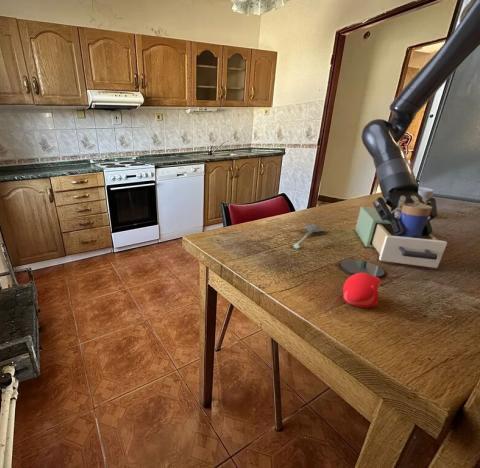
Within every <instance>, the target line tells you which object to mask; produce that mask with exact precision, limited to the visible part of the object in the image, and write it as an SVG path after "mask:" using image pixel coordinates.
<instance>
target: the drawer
mask: <svg viewBox="0 0 480 468" xmlns="http://www.w3.org/2000/svg"><path fill="white" fill-rule="evenodd" d="M394 234H395V233H394V231H393V228H392V224H384V223H376V224H375V228H374V231H373V235H372V238H371V243H372V244H373V246H374V247H375V248H374V249H375V250H376V252H377V253H378V254H379V257H378V259H379V261H380V262H388V263H395V264H403V265H411V266H419V267H427V268H432V269H433V268H435V269H438V267H439V265H440V263H441V260H442V257H443V255H444V251H445V250H446V247H447V245H448V242H447V241H446V240H440V239H438V238H437V237H435V235H433V234H432V233H431V234H429V235H427V236H422V237H421V239H420V238H410V237H400V236H394Z"/></svg>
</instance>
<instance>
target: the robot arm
mask: <svg viewBox="0 0 480 468" xmlns="http://www.w3.org/2000/svg"><path fill="white" fill-rule="evenodd" d="M479 46H480V0H470V1H468V3H467V4H466V5H465V6H464V7H463V10H462V11H461V13H460V17H459V24H458V25H457V26H456V27H455V29H454V31H453V32H452V33H451V34H450V36H449V37H448V38H447V39H446V40H445V42H444V43H443V44H442V45H441V47H440V48H439V49H438V50H437V51H436V52H435V54H434V55H433V56H432V57H431V58H430V59H429V60H428V61H427V62H426V63H425V64H424V66H422V67H421V68H420V70H419V71H417V73H415V75H414V76H413V77H412V78H411V79H410V80H409V81H408V82H407V84H406V85H405V86H404V88H403V89H402V90H401V91H400V92H399V94H398V95H397V96H396V97H395V98H394V100H392V102H391V104H390V105H389V111H390V112H391V117H390V119H389V121H388V120H385V119H382V118H376V119H373V120H371V121H369V122H368V123H367V124H365V126H363V129H362V131H361V141H362V143H363V145H364V147H365V149H366V150H367V153H368V154H369V155H370V156H371V158H372V160H373V164H374V168H375V172H376V179H377V182H378V185H379V190H380V193H381V195H382V196H378V198H376V199H375V200H374V201H372V205H373V207H375V209H376V211H377V212H378V214H379V216H380V218H381V220H383V221H385V220H387V221H389V222H391V224H392V228H393V231H394V233H396V235H402V234H404V233H405V229H404V226H403V222H402V219H399V218H400V216H401V209H402V206H403V204H404V203H419V204H425V205H429V206H431V207H432V210H431V213H430V215H429V217H428V220H427V222H426V225H425V228H424V231H423V234H422V236H427V235H429V234H431V235H432V232H433V227H432V224H431V222H430V221H432V220H434V219H435V218H437V217H438V209H437V199H436V198H435V197H434V196H432V197H431V198H429V199H426V198H422V197H421V196H420V195H419V193H418V189H419V187H420V186H419V184H418V181H417V179H416V176H415V173H414V171H413V167H412V166H411V163H410V162H409V161H408V158H407V155H406V153H405V152H406V151H405V150H404V148H403V147H402V145H400V144H399V143H400V141H401V140H402V139H403V138H404V136H405V135H406V133H407V131H408V129H409V128H410V126H411V124H412V123H413V121H414V120H415V117H416V115H418V113H419V112H420V111H421V110H422V109H423V107H424V106H425V105H426V104H428V103H429V101H430V100H431V99H432V98H433V97H434V96H435V94H436V93H437V92H438V91H439V90H440V89H441V87H442V86H443V85H444V84H445V83H446V82H447V80H449V78H450V77H451V76H452V75H453V74H454V72H456V70H457V69H458V68H459V67H460V66H461V65H462V64H463V63H464V62H465V60H467V58H468V57H470V55H471V54H472V53H473V52H475V50H476V49H477V48H478V47H479ZM389 208H390V210H389Z"/></svg>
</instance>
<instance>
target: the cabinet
mask: <svg viewBox="0 0 480 468" xmlns="http://www.w3.org/2000/svg"><path fill="white" fill-rule="evenodd" d="M388 208H389V210H390V207H388ZM376 223H384V224H391V222H389V221H387V220H385V221H383V220H381V218H380V216H379V214H378V212H377V211H376V209H375V207H374V206H360V209H359V213H358V217H357V222H356V225H355V229H354V231H355V233H356V234H357V235H358V237H359V238H360V240H361V242H362V243H363V245H364V246H365V247H366V248H373V249H376V248H375V247H374V246H373V244H372V243H371V238H372V235H373V231H374V228H375V224H376Z"/></svg>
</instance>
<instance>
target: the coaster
mask: <svg viewBox="0 0 480 468" xmlns="http://www.w3.org/2000/svg"><path fill="white" fill-rule="evenodd" d="M340 268H342V270H344V271H345V272H347V273H349V274H351V275H354V274H357V273H367V274H370V275H372V276H375V277H378V278H379V279H380V278H383V277H384V276H385V270H384V269H383V268H382V267H380V266H379V265H377V264H375V263H372V262H370V261H365V260H361V259H344V260H342V261H341V262H340Z"/></svg>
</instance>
